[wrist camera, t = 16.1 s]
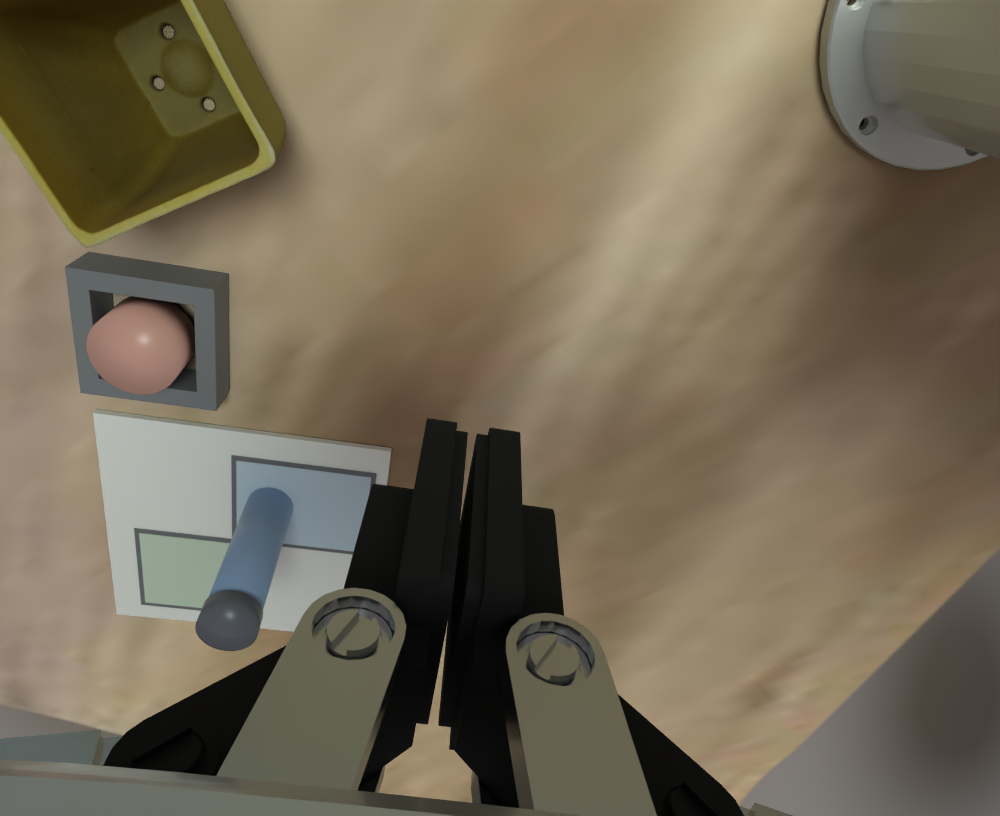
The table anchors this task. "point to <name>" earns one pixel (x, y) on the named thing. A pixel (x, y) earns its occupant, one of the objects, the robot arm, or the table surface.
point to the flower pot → (131, 107)
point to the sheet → (225, 510)
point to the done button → (141, 345)
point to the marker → (246, 573)
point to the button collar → (201, 288)
